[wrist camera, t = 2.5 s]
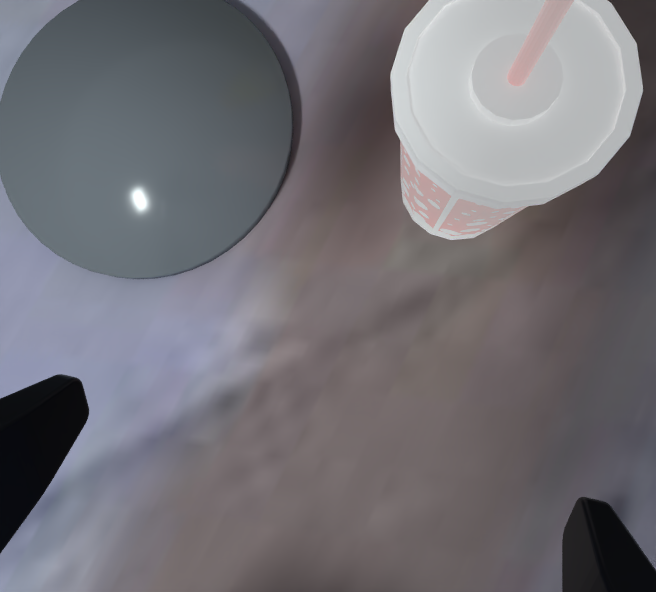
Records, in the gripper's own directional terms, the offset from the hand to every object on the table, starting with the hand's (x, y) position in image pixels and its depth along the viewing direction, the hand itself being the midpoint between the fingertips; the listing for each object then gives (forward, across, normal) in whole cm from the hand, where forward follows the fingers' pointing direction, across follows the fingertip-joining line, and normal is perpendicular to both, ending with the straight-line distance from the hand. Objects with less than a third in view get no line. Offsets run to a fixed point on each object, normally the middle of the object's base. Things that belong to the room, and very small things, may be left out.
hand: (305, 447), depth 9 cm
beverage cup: (+16, -2, 0) cm, 16 cm away
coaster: (+14, +12, -1) cm, 19 cm away
